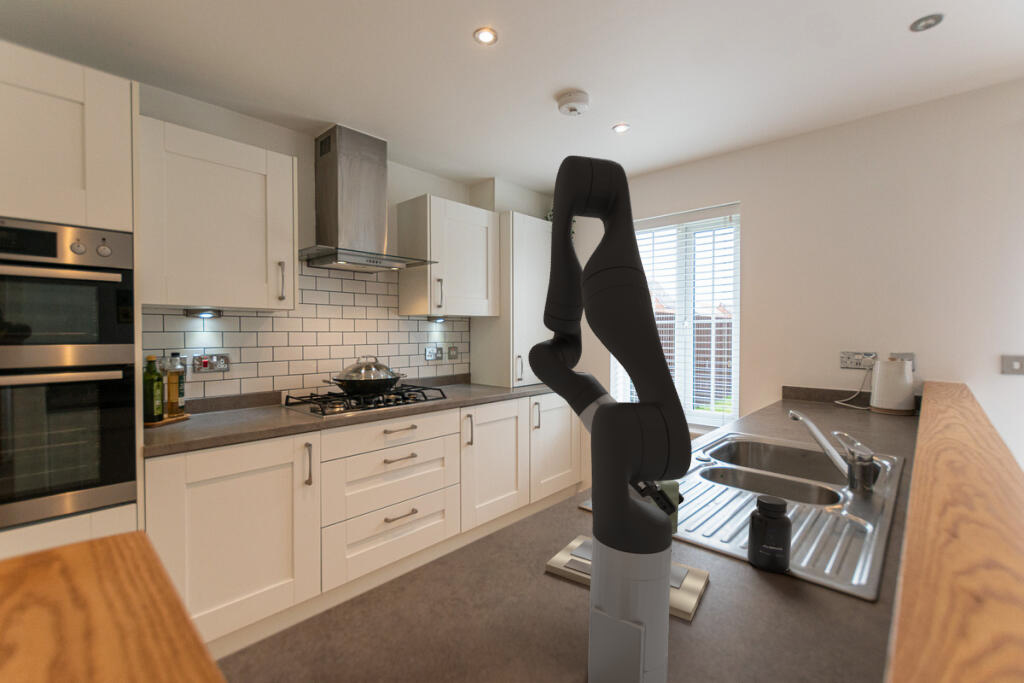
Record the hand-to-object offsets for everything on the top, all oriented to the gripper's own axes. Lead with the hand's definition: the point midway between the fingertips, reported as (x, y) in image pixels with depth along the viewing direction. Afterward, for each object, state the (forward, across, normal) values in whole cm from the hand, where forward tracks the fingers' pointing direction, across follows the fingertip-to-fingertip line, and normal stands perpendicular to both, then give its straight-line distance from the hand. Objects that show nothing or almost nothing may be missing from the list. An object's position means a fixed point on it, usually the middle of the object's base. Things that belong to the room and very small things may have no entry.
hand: (676, 507), depth 77 cm
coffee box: (+1, +23, +17) cm, 29 cm away
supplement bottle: (+18, +17, 0) cm, 25 cm away
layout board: (+4, -2, +14) cm, 15 cm away
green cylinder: (+2, 0, +4) cm, 4 cm away
